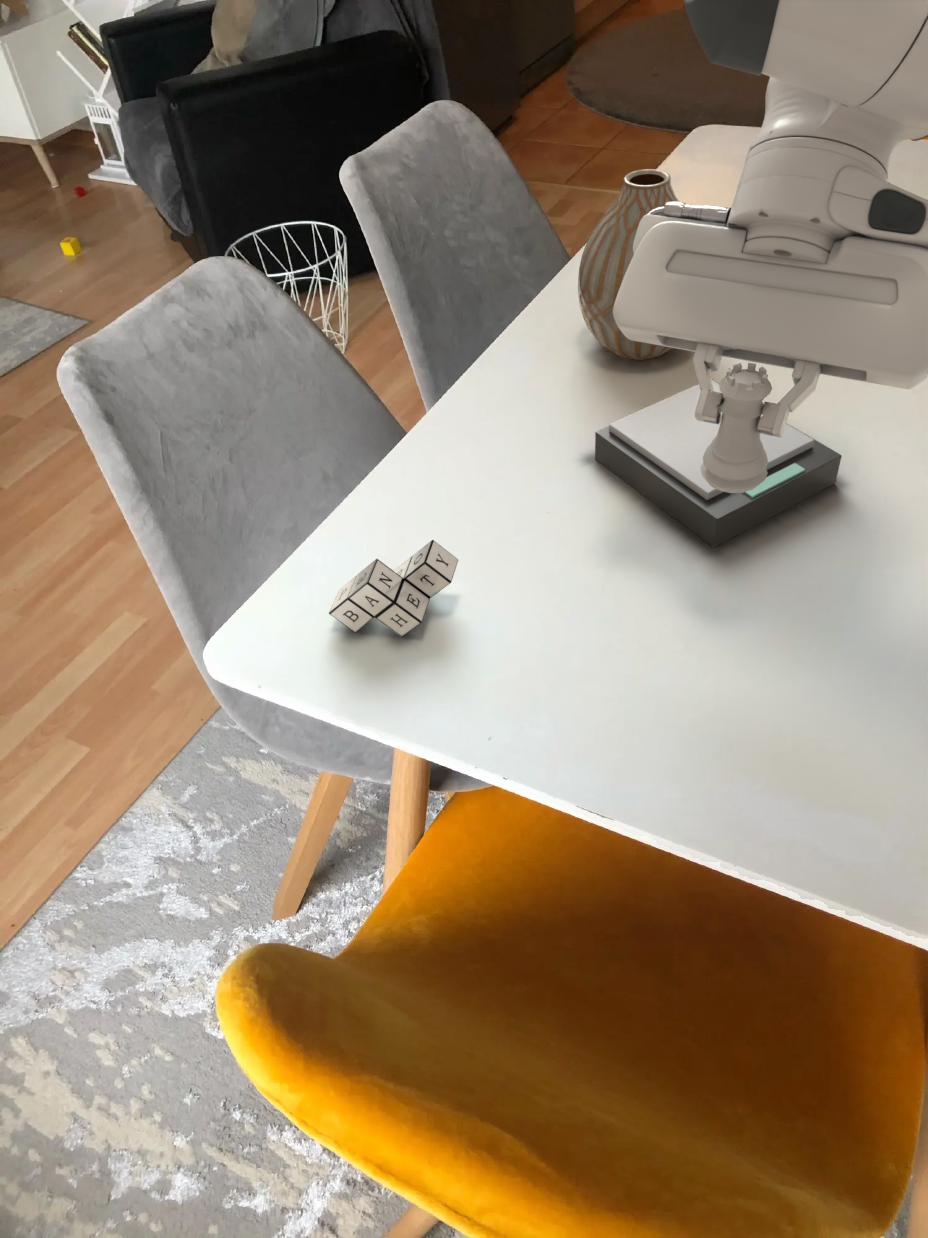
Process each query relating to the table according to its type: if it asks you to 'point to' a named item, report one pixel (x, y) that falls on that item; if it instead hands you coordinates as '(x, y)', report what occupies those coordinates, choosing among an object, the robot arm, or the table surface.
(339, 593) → the building blocks
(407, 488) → the table surface
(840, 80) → the robot arm
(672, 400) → the kitchen scale
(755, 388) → the rook chess piece
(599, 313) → the vase
